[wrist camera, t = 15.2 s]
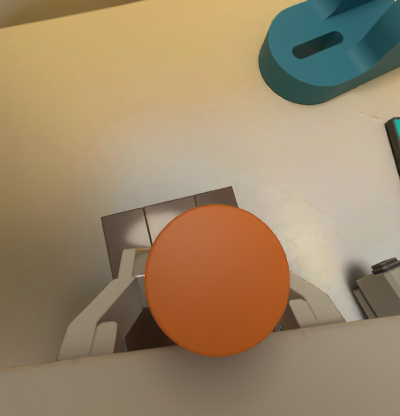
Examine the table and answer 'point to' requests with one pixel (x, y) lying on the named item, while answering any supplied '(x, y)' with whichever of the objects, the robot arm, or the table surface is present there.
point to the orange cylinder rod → (217, 280)
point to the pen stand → (144, 237)
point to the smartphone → (395, 136)
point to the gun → (380, 290)
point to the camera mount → (330, 47)
